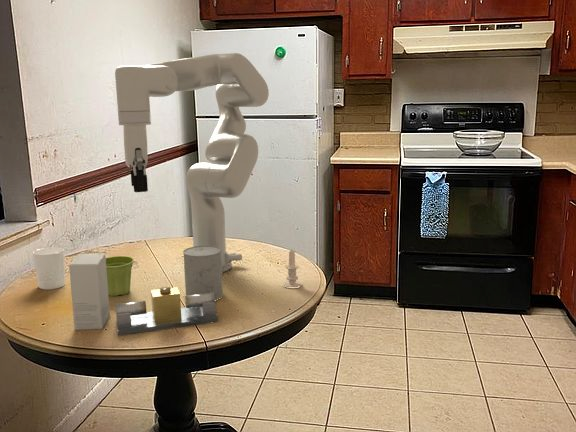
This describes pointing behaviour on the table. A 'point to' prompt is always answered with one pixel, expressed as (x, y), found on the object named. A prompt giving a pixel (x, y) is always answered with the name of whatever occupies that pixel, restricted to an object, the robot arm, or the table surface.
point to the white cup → (49, 267)
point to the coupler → (166, 304)
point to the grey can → (203, 270)
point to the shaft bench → (195, 313)
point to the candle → (292, 271)
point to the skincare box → (89, 291)
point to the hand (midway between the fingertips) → (139, 188)
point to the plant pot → (118, 274)
